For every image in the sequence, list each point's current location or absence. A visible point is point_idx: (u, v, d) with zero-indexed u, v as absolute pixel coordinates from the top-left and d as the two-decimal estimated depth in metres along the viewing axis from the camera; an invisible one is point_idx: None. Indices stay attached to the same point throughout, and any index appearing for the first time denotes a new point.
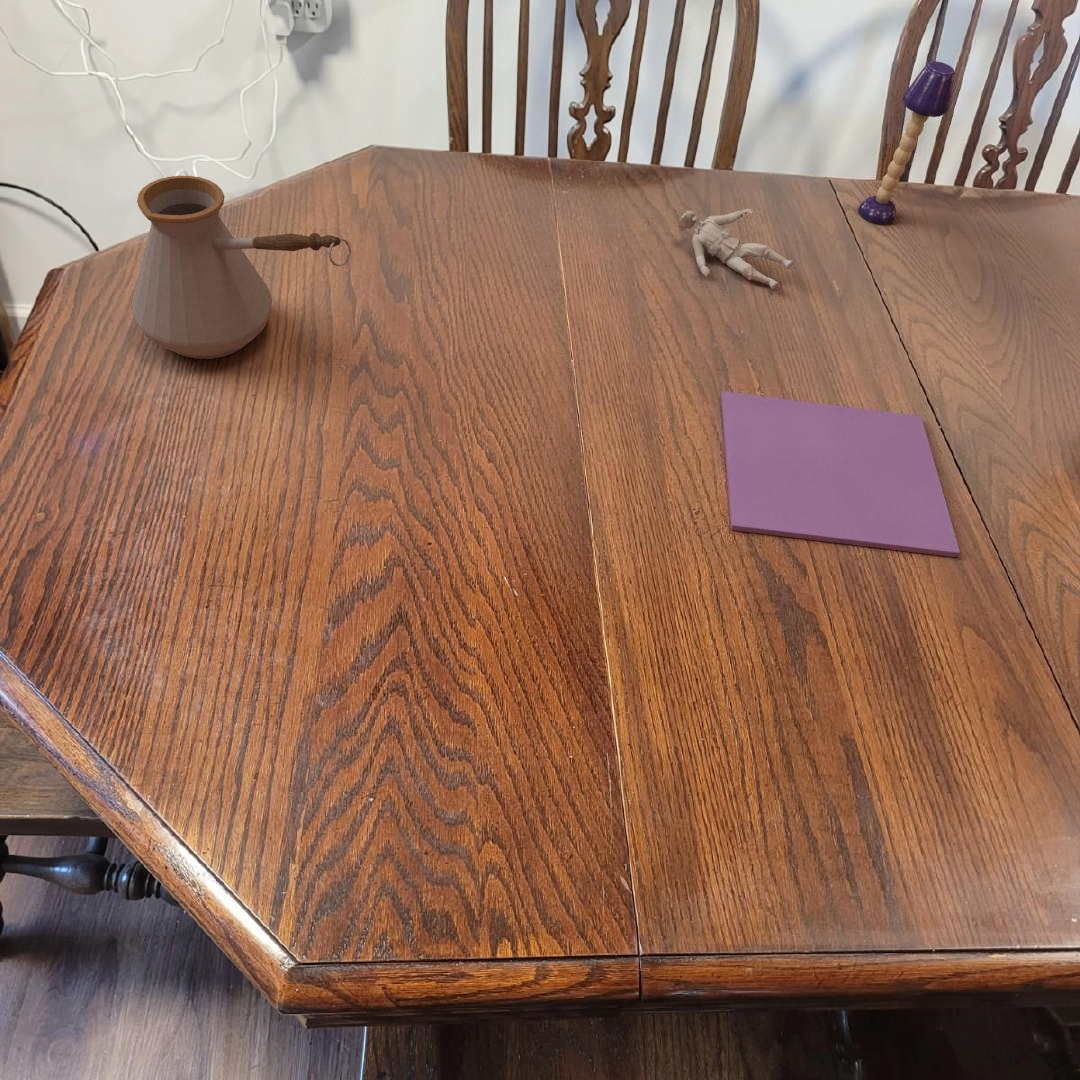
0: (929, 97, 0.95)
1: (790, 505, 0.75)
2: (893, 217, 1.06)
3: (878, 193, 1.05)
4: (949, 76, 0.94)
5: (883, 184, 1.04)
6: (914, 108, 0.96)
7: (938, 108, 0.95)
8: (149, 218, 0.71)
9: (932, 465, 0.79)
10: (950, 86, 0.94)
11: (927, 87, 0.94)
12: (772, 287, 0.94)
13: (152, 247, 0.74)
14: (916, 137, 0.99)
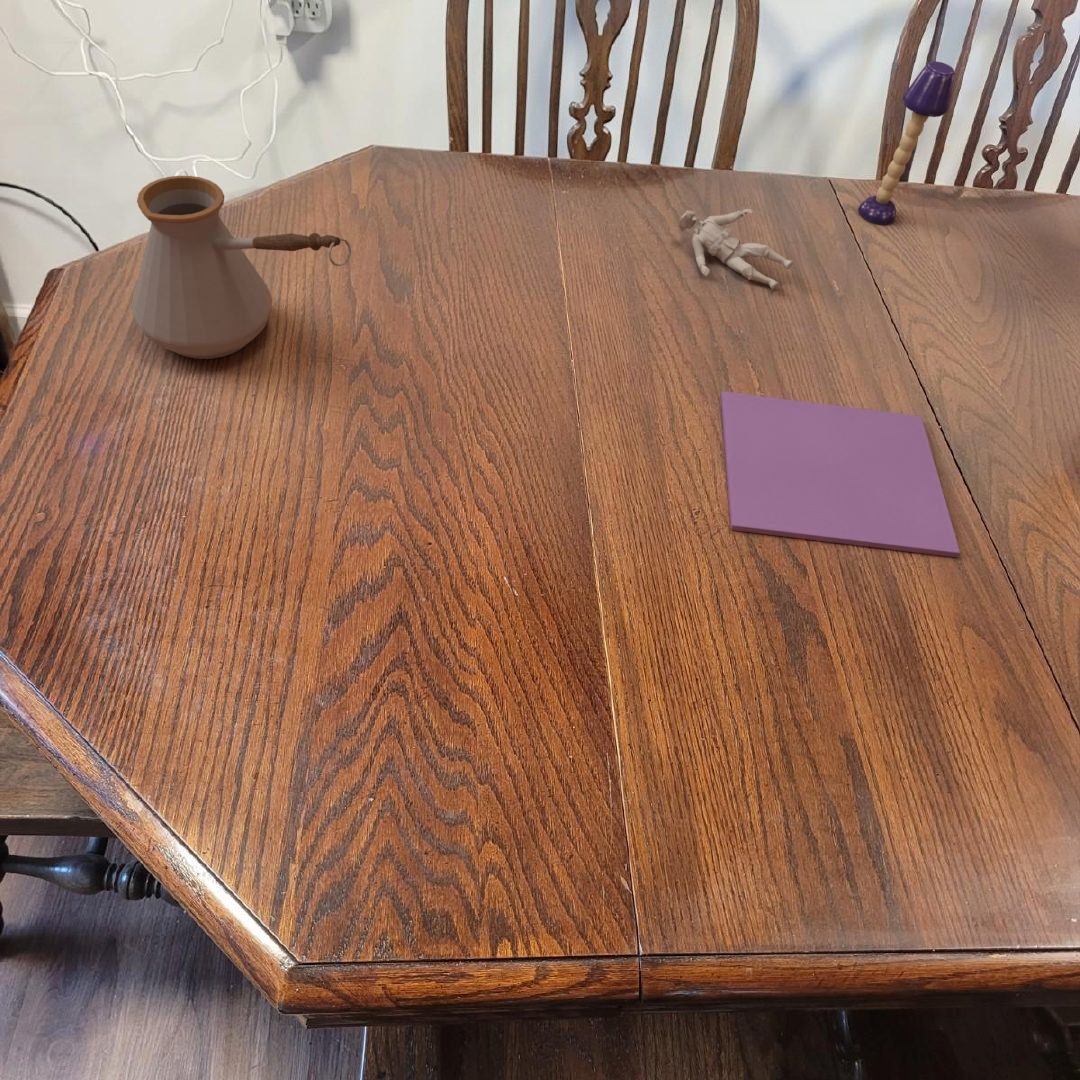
0: (929, 97, 0.95)
1: (790, 505, 0.75)
2: (893, 217, 1.06)
3: (878, 193, 1.05)
4: (949, 76, 0.94)
5: (883, 184, 1.04)
6: (914, 108, 0.96)
7: (938, 108, 0.95)
8: (149, 218, 0.71)
9: (932, 465, 0.79)
10: (950, 86, 0.94)
11: (927, 87, 0.94)
12: (772, 287, 0.94)
13: (152, 247, 0.74)
14: (916, 137, 0.99)
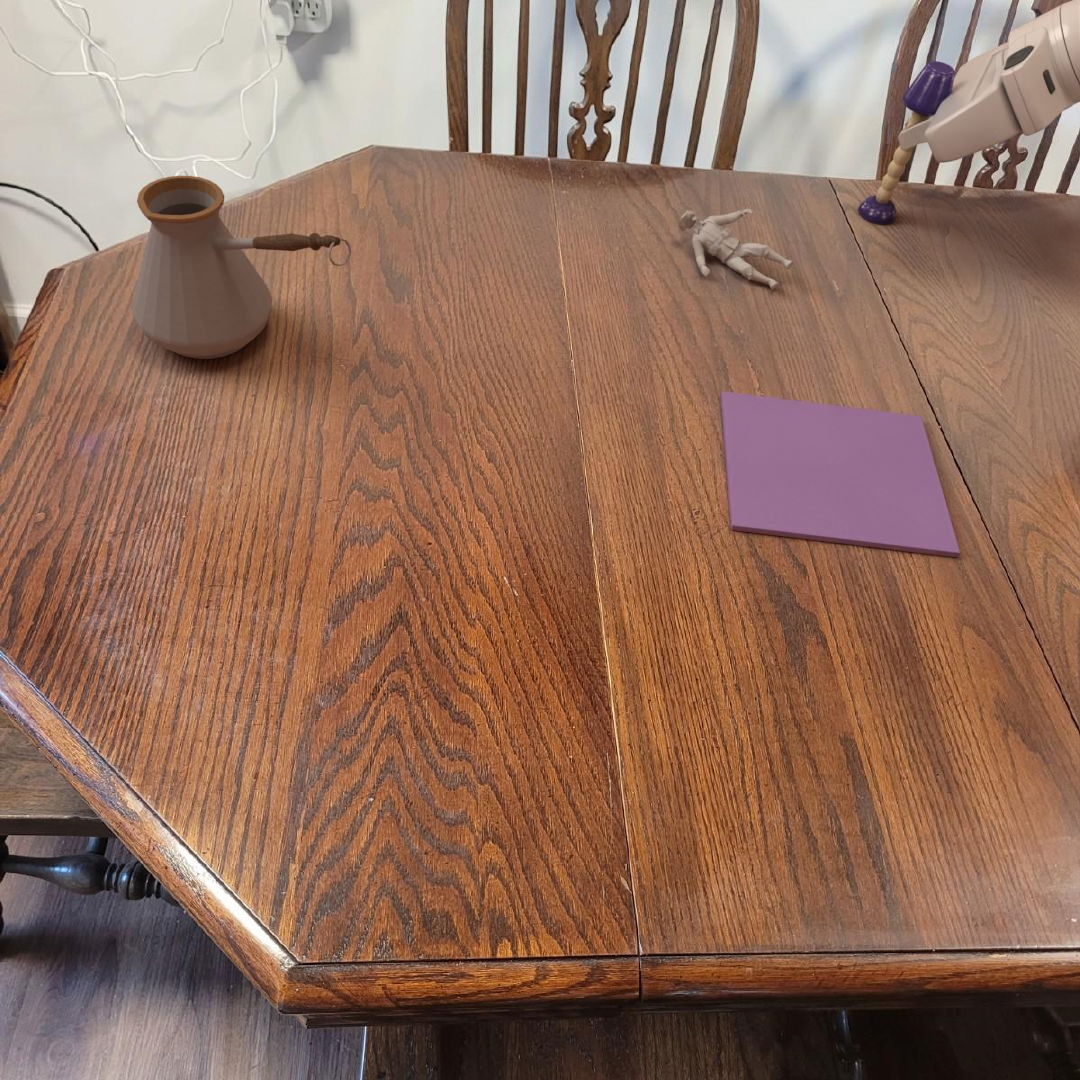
0: (929, 97, 0.95)
1: (790, 505, 0.75)
2: (893, 217, 1.06)
3: (878, 193, 1.05)
4: (949, 76, 0.94)
5: (883, 184, 1.04)
6: (914, 108, 0.96)
7: None
8: (149, 218, 0.71)
9: (932, 465, 0.79)
10: (950, 86, 0.94)
11: (927, 87, 0.94)
12: (772, 287, 0.94)
13: (152, 247, 0.74)
14: None
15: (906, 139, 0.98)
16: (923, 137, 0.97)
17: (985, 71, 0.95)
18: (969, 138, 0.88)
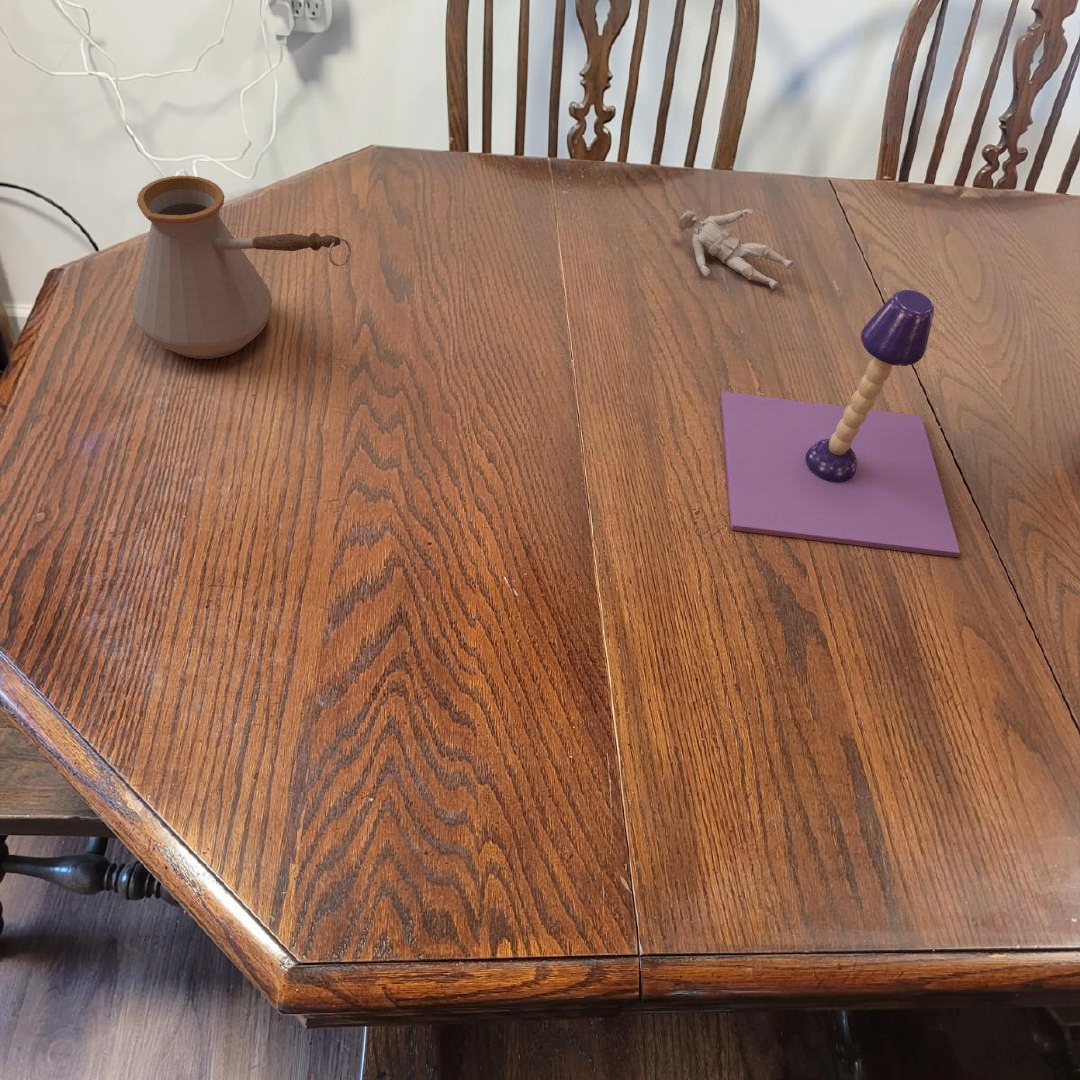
0: (897, 342, 0.66)
1: (790, 505, 0.75)
2: (852, 472, 0.77)
3: (831, 442, 0.76)
4: (926, 316, 0.65)
5: (837, 433, 0.75)
6: (876, 354, 0.67)
7: (910, 356, 0.67)
8: (149, 218, 0.71)
9: (932, 465, 0.79)
10: (927, 327, 0.66)
11: (894, 329, 0.66)
12: (772, 287, 0.94)
13: (152, 247, 0.74)
14: (882, 382, 0.71)
15: None
16: None
17: None
18: None
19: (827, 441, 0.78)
